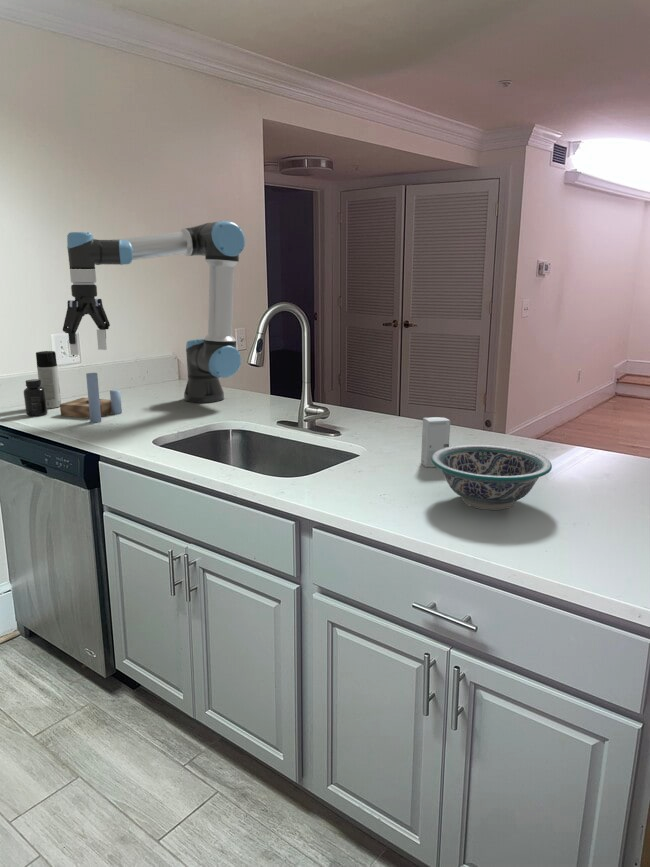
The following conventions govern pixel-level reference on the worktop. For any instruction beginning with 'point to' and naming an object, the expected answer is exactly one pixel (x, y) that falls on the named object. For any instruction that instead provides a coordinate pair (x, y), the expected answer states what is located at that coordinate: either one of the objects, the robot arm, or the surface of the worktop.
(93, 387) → the long dowel
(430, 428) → the skincare box
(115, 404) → the short dowel
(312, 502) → the worktop surface
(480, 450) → the bowl
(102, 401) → the collar block
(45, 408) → the supplement bottle
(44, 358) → the spray can
